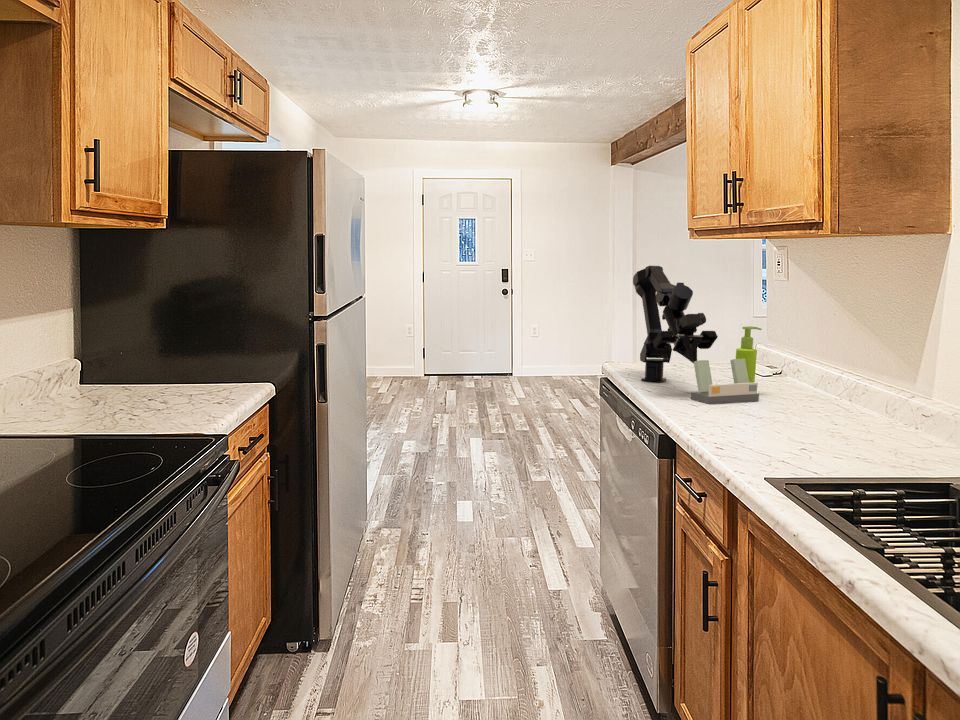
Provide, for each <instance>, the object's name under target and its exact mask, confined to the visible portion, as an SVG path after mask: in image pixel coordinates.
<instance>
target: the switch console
mask: <svg viewBox="0 0 960 720" xmlns="http://www.w3.org/2000/svg"><path fill="white" fill-rule="evenodd" d="M758 384H759V383H758V382H756V381H755V383H736V384H734V383H721V384H713V385H709V392H705V393H699V392H698V391H690V400H693V401H695V402H696V401H697V402H699V403H703V404H708V405H715V404H716V405H717V404H731V403H732V404H733V403H744V402H745V403H747V402H759V400H760V393H758V387H759V385H758Z"/></svg>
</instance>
